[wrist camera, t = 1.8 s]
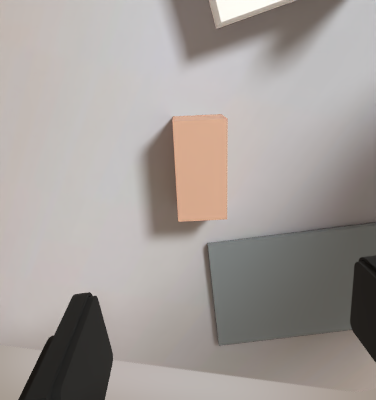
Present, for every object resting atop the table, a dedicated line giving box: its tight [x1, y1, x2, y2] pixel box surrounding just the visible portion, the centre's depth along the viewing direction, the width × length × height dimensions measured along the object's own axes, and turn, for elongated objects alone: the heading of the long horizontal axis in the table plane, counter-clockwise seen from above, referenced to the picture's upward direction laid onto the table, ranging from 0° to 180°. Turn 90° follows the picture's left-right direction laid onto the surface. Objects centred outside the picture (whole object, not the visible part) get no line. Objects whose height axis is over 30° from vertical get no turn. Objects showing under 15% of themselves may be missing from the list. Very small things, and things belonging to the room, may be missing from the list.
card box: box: [172, 114, 227, 222], centre depth 29 cm, size 4×9×4 cm, turn 3°
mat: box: [207, 223, 376, 346], centre depth 36 cm, size 20×14×1 cm
